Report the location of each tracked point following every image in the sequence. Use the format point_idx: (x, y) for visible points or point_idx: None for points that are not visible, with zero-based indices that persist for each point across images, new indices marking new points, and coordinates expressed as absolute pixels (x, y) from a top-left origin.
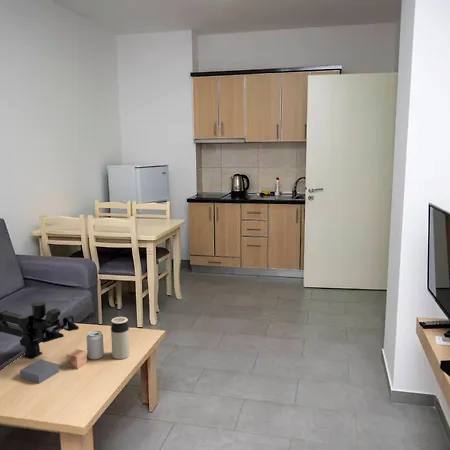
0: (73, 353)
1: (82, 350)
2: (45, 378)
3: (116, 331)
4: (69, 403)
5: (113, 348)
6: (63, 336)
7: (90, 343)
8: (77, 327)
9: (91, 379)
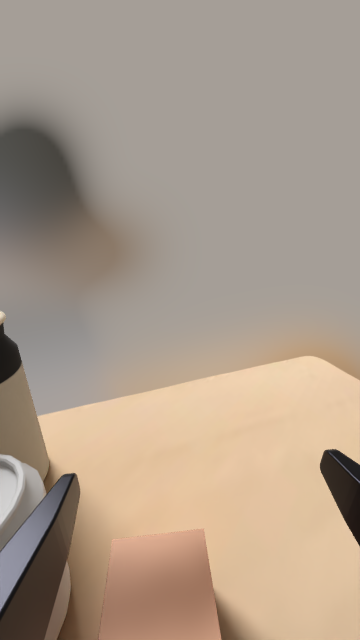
0: (182, 618)
1: (107, 588)
2: None
3: (19, 359)
4: (323, 404)
5: (29, 452)
6: (321, 464)
7: None
8: (75, 483)
9: (216, 442)
